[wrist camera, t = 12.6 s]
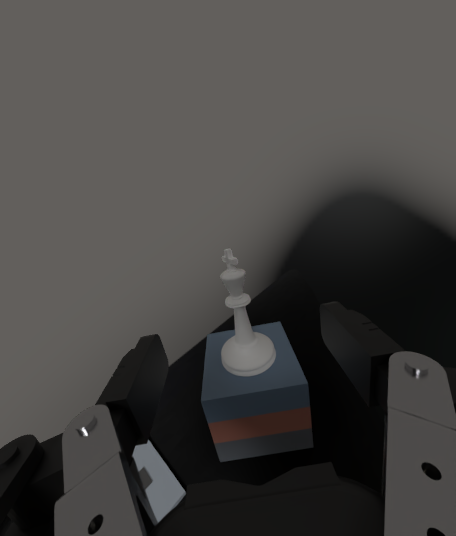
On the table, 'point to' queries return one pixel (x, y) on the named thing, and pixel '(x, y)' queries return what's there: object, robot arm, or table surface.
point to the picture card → (157, 480)
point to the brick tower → (256, 401)
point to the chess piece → (243, 328)
